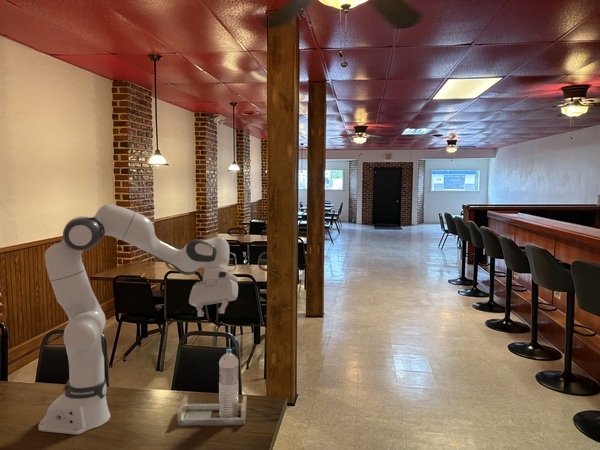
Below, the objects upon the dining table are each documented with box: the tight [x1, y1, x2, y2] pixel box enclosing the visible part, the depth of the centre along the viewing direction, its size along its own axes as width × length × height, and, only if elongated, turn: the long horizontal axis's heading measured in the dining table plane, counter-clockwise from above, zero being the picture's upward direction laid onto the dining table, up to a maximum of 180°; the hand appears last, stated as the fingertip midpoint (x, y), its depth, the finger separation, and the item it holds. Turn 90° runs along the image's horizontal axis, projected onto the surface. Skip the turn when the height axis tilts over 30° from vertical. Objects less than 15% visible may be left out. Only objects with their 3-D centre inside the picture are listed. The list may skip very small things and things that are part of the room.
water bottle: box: [218, 348, 239, 418], centre depth 160 cm, size 7×7×25 cm
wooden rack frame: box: [176, 395, 247, 427], centre depth 161 cm, size 23×11×5 cm, turn 93°
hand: (210, 314), depth 162 cm, fingers open, 8 cm apart
